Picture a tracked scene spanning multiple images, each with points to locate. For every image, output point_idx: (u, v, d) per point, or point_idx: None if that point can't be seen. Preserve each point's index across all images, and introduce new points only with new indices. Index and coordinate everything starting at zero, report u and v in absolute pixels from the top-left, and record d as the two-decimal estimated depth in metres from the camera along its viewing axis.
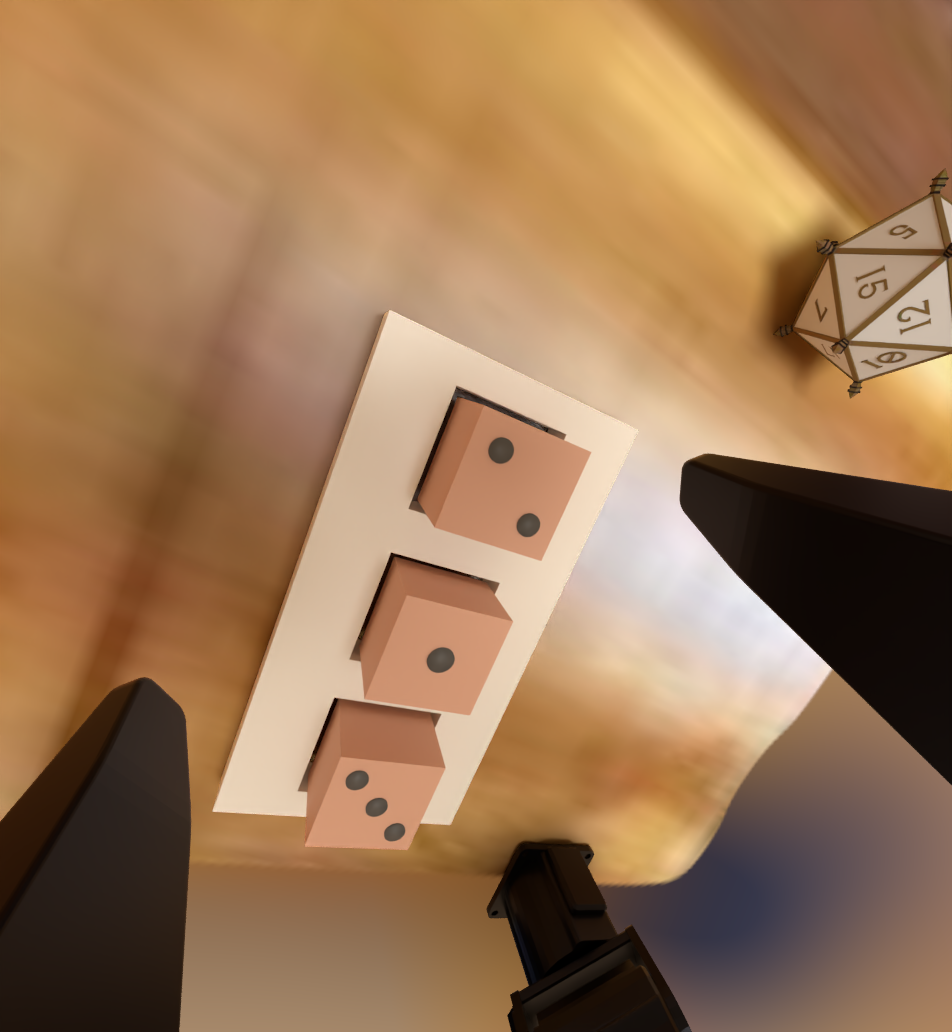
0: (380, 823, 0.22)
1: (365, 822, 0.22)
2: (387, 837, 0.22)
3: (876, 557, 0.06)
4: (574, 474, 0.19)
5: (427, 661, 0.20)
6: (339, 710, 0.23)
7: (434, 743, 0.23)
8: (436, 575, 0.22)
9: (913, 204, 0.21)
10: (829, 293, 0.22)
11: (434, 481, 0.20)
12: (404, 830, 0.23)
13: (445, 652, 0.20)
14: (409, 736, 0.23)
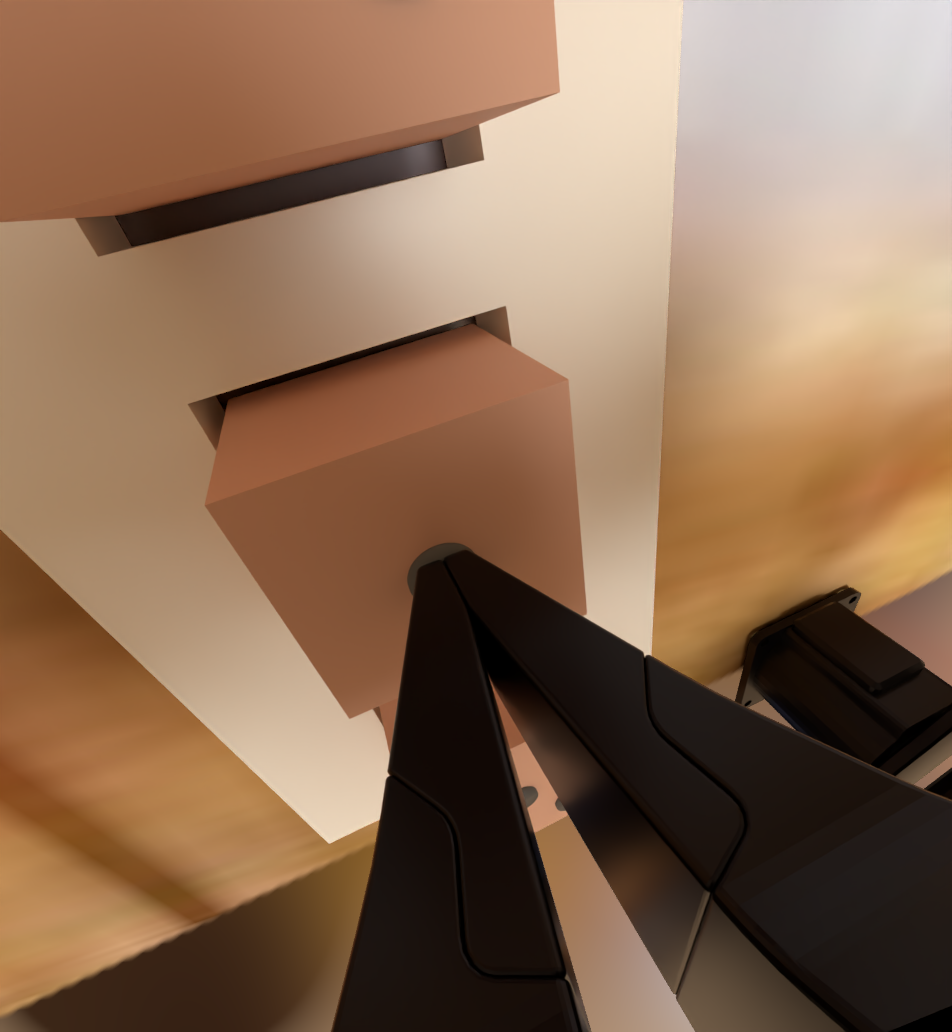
0: (542, 804, 0.13)
1: None
2: None
3: (542, 715, 0.05)
4: None
5: None
6: None
7: None
8: (334, 382, 0.08)
9: None
10: None
11: None
12: None
13: (440, 555, 0.07)
14: None
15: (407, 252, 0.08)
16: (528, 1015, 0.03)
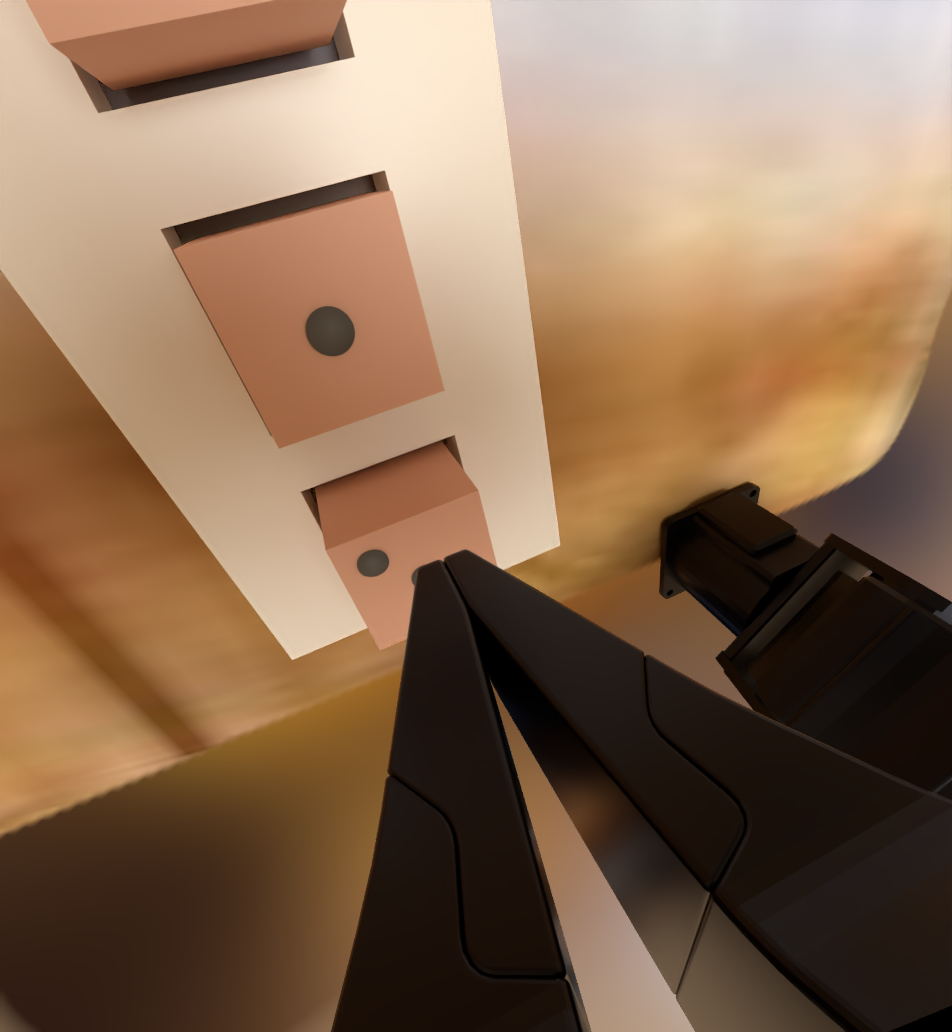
0: None
1: None
2: None
3: (542, 715, 0.05)
4: None
5: (313, 346, 0.12)
6: (318, 502, 0.16)
7: (456, 471, 0.16)
8: (263, 221, 0.13)
9: None
10: None
11: None
12: None
13: (325, 313, 0.12)
14: (418, 481, 0.16)
15: (307, 123, 0.11)
16: (528, 1015, 0.03)
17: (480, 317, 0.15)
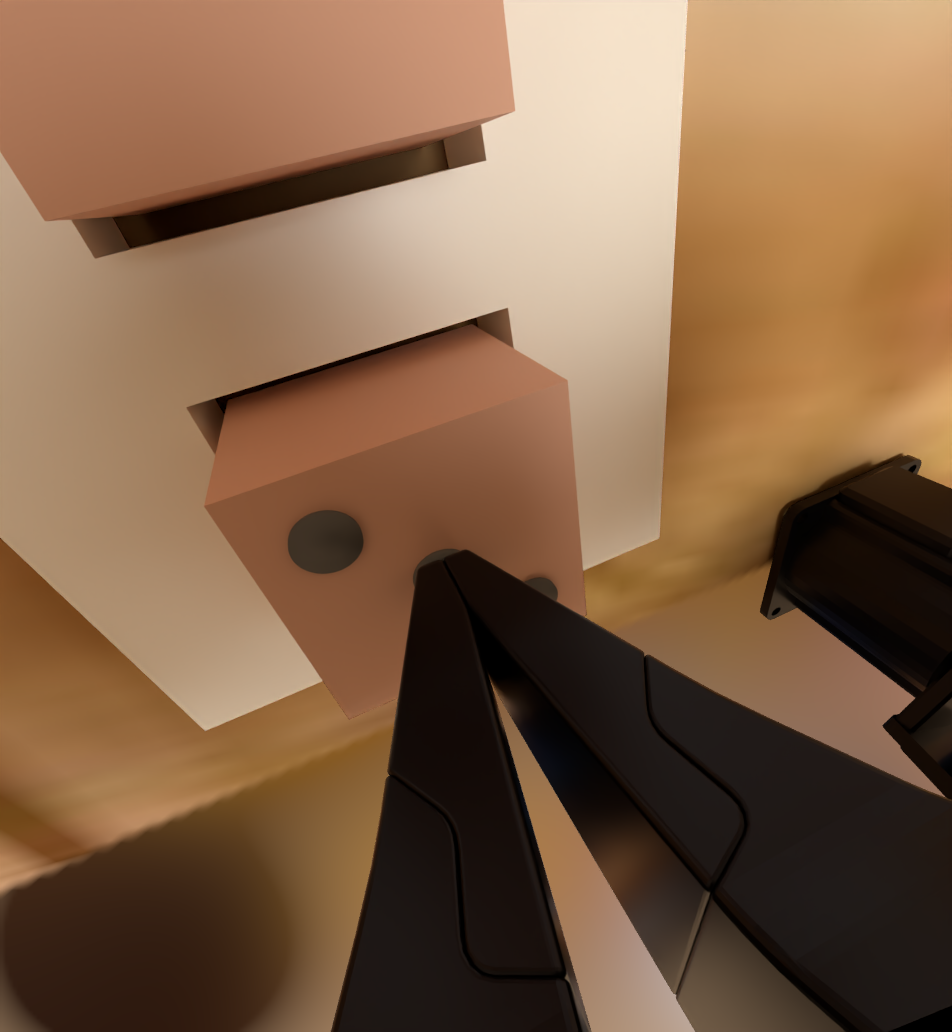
0: None
1: None
2: None
3: (542, 715, 0.05)
4: None
5: None
6: None
7: (509, 358, 0.08)
8: None
9: None
10: None
11: None
12: (552, 586, 0.09)
13: None
14: (429, 377, 0.08)
15: None
16: (530, 1015, 0.03)
17: (584, 5, 0.07)
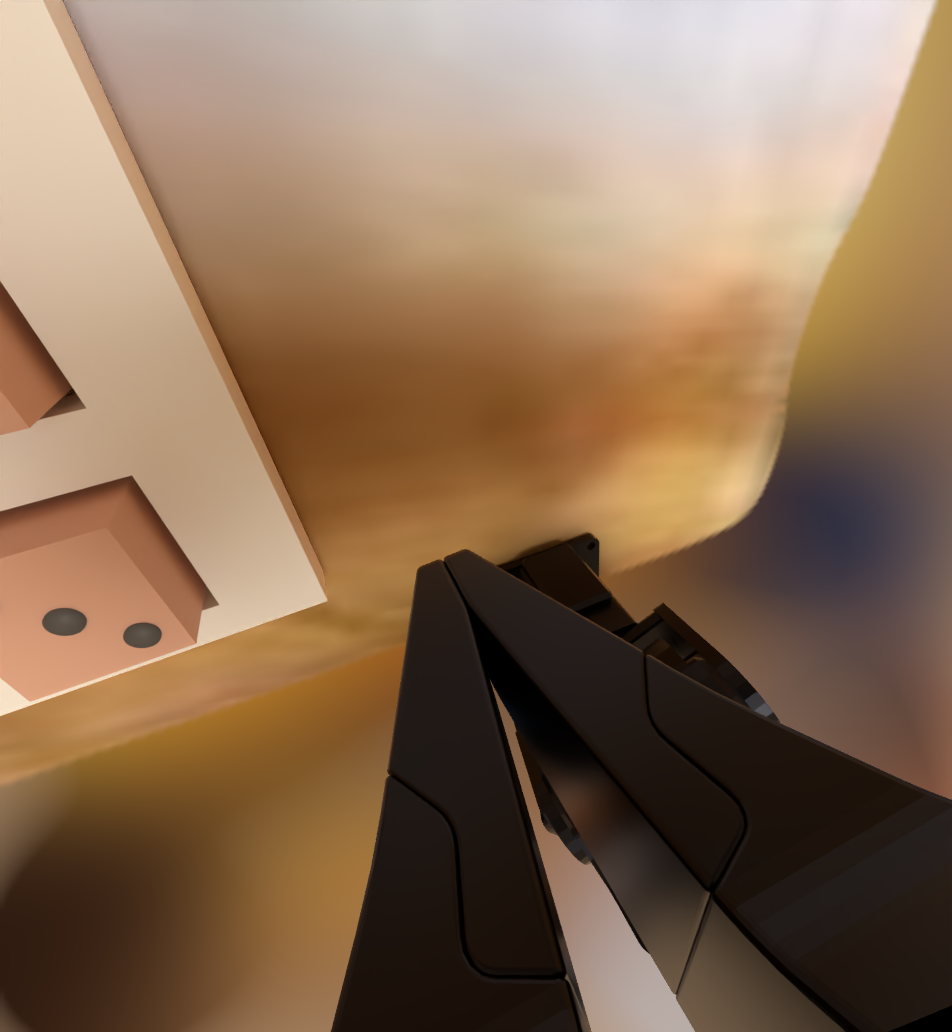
0: (105, 635, 0.14)
1: (79, 644, 0.14)
2: (142, 644, 0.15)
3: (542, 715, 0.05)
4: None
5: None
6: None
7: (111, 502, 0.14)
8: None
9: None
10: None
11: None
12: (156, 627, 0.15)
13: None
14: (66, 511, 0.14)
15: None
16: (530, 1013, 0.03)
17: (126, 338, 0.13)
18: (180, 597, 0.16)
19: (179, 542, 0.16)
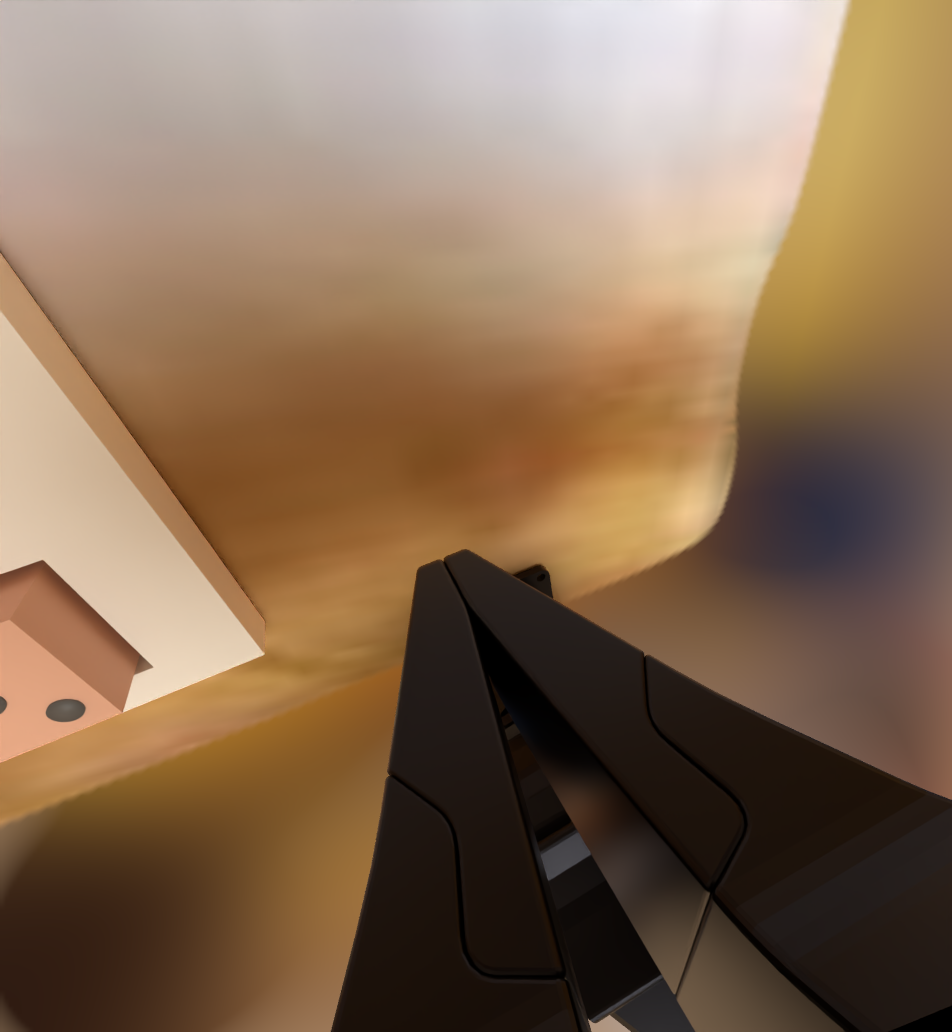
0: (28, 713, 0.15)
1: (3, 723, 0.15)
2: (67, 718, 0.16)
3: (542, 715, 0.05)
4: None
5: None
6: None
7: (22, 589, 0.14)
8: None
9: None
10: None
11: None
12: (78, 702, 0.16)
13: None
14: None
15: None
16: (530, 1013, 0.03)
17: (15, 438, 0.13)
18: (105, 669, 0.16)
19: (102, 615, 0.17)
